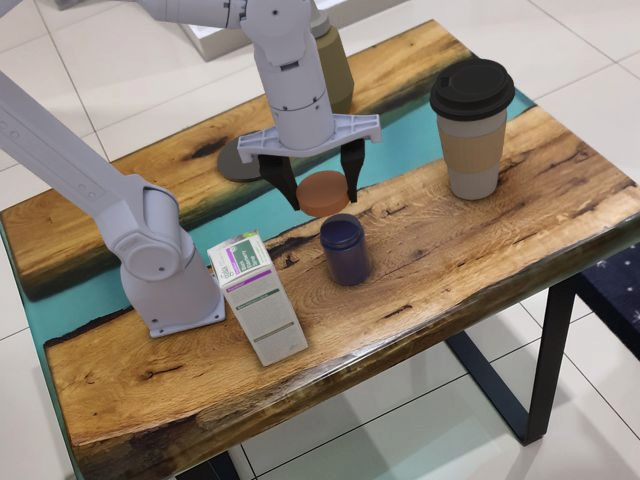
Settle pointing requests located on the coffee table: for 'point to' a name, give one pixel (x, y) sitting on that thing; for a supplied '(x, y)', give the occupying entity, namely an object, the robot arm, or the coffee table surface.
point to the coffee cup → (472, 123)
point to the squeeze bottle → (332, 61)
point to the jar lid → (323, 193)
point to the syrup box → (257, 297)
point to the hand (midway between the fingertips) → (326, 200)
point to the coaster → (237, 163)
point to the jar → (345, 249)
